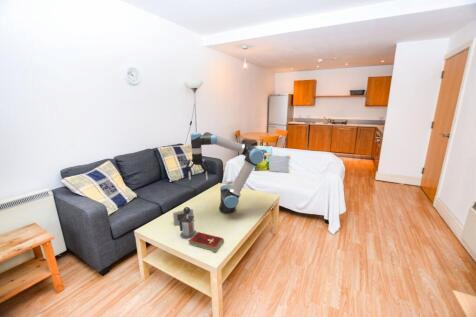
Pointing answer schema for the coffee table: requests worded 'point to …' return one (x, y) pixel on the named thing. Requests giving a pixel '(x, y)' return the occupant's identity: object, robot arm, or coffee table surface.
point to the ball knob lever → (186, 211)
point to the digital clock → (181, 216)
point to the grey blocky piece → (187, 226)
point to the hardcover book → (206, 241)
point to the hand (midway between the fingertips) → (198, 179)
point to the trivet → (187, 237)
